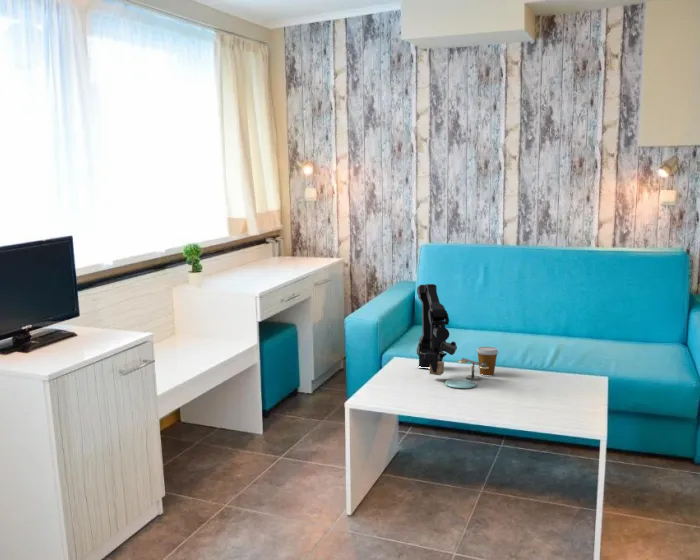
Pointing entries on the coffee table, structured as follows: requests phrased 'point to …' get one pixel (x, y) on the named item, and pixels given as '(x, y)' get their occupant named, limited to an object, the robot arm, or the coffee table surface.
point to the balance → (472, 376)
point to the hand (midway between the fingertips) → (436, 371)
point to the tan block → (438, 369)
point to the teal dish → (460, 383)
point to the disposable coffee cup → (487, 359)
